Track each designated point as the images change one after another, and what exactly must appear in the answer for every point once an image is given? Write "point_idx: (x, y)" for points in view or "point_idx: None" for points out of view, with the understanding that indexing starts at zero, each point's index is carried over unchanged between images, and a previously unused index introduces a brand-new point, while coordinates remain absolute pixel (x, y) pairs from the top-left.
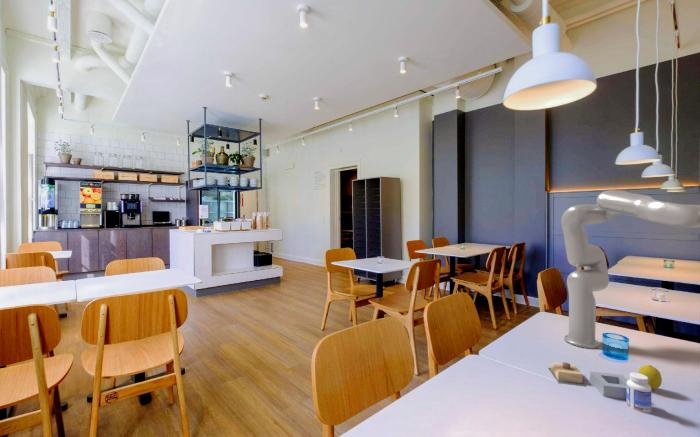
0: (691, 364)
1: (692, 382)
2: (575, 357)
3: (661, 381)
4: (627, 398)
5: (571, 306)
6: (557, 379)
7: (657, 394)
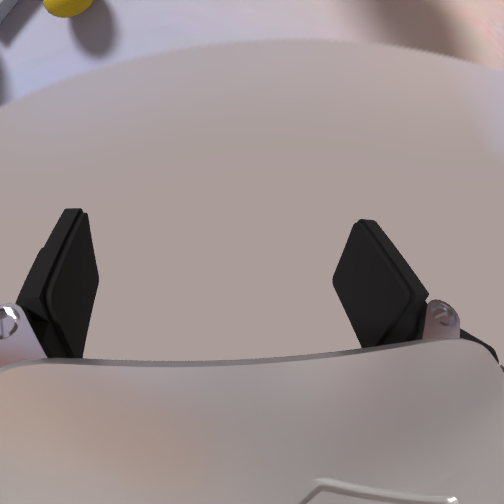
0: (374, 38)
1: (231, 38)
2: None
3: (70, 16)
4: None
5: None
6: None
7: None
